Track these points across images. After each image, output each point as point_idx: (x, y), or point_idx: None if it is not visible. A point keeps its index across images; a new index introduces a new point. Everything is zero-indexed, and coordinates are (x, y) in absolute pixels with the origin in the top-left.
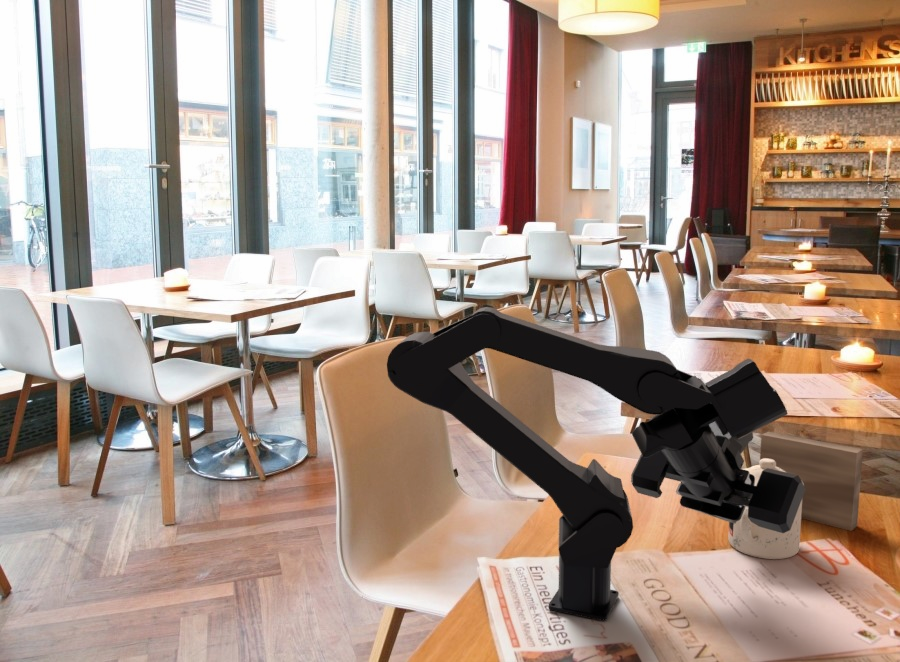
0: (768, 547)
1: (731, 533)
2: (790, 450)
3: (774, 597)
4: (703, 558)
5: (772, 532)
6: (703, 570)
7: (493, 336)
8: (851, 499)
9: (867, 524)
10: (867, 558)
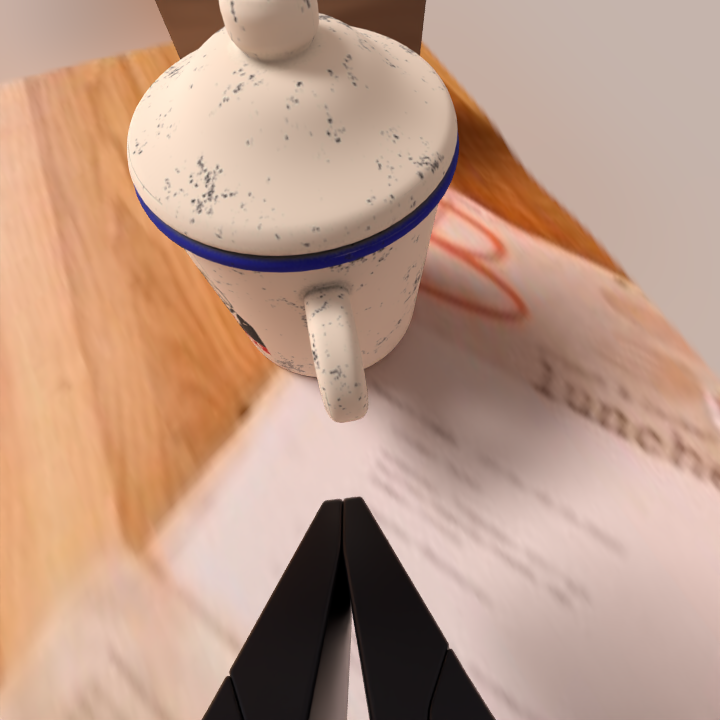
0: (382, 347)
1: (261, 347)
2: None
3: (537, 572)
4: (252, 492)
5: (392, 319)
6: None
7: None
8: (417, 40)
9: None
10: (510, 201)
